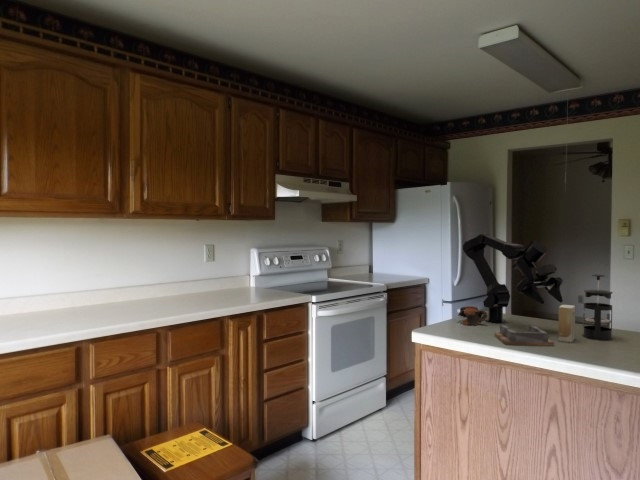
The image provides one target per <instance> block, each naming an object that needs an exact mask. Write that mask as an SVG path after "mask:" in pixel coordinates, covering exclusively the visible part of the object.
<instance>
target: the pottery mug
mask: <svg viewBox="0 0 640 480" xmlns="http://www.w3.org/2000/svg"><path fill="white" fill-rule="evenodd" d="M459 310H460V311H459V313H458V317H463V318H465V319H463V320H462V324H463V325H464V326H467V325H469V326H470V325H471V326H478V325H479V324H481V323H483V321H486V320H487V317H488V314H487V312H486V311H485V310H483V309H482V310H479V308H478V307H476V306H471V305H470V306H464V307H463V306H462V307H461V308H459Z"/></svg>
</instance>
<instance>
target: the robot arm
mask: <svg viewBox="0 0 640 480" xmlns="http://www.w3.org/2000/svg"><path fill="white" fill-rule="evenodd" d="M487 247H490V248H492V249H494V250H496V251H499V252H501V254H502V255H503V256H504V257H505V258H507V259H508V260H516V261H513V262H512V266H511V268H512V269H514V270H519V272H520V273H521V274H522V276H521V278H522V280H520V281H519V283H518V284H517V285H516V292H518V294H521V295H523V296H526V297H529V298H530V299H532V300H534V301H536V302H538V303H539V304H541V305H544V304H545V302H546V301H545V300H544V299H543V297H542V295H541V293H540V292H539V290H538V288H544V289H545V290H546V291H547V293H548V294H549V295H550V296H551V297H552V298H554V299H555V300H556V301H557V302H559V303H563V302H564V301H563V296H562V293H561V289H560V288H561V285H562V284H563V283H564V280H563V279H562V277H560V276H551V277H550V278H549V275H552V274H555V273H556V272H557V266H556V265H555V263H549V264H543V265H541V266H539V267H538V266H536V265H535V263H538V262H539V261H540V260H541V259H542V258H543V257H544V256H545V254H547V252H548V248H547V247H546V246H545V245H544V244H542V243H540V242H538V241H537V240H531V241H530V242H529V243H528V246H527V247H526V246H525V245H523V244H519V243H512V242H511V243H510V242H507V241H505V240H502V239H500V238H497V237H495V236H492V235H490V234H489V233H480V234H478V235H477V236H475V237H473V238H470V239H468V240H467V241H465V242H464V243H463V245H462V251H463V253H465V256H466V257H468V258H469V259H471V260H472V262H473V263H474V265H475V267H476V269H477V271H478V272H479V275H480V276H481V279H482V280H483V282H484V284H485V286H486V296H487V297H486V298H485V299H484V300H483V301H482V303H483V306H484V308H488V314H487V317H488V318H486V319H485V322H488V323H489V322H490V323H497V324H502V323H504V322H506V319H503V317H504V308H507V307H508V306H509V304H510V299H511V295H510V291H509V290H508V287H507V285H506V284H505V283H500V282H498V279H497V277H496V275H495V274H494V272H493V271H492V268H491V267H490V265H489V263H488V262H487V259H486V257H485V249H486V248H487ZM546 280H547V281H546Z"/></svg>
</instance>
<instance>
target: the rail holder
mask: <svg viewBox="0 0 640 480" xmlns="http://www.w3.org/2000/svg"><path fill="white" fill-rule="evenodd" d="M528 329H529V331H514V330H513V329H511V328H510V327H508V326H506V324H499V332H494V335H493V336H494V338H497V339H498V340H499V341H500V342H501V343H503V344H504V345H505V346H539V347H541V346H544V347H554V346H555V342H554V341H552V340H551V339H549V333H548V332H546V331H545V330H543V329H541V328H540V327H538V326H536V325H534V324H533V325H532V324H530V325H529V328H528Z"/></svg>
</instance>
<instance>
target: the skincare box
mask: <svg viewBox="0 0 640 480" xmlns="http://www.w3.org/2000/svg"><path fill="white" fill-rule="evenodd" d="M557 333H558V335H557V337H558V338H557V340H558V342H559V341H560V342H567V343H573V342H574V340H575V339H576V338H575V337H576V334H575V333H576V305H572V304H561V305H560V306H558V332H557Z"/></svg>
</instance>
